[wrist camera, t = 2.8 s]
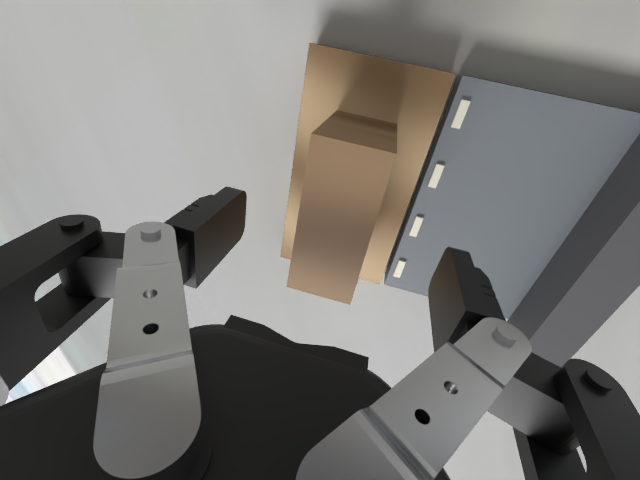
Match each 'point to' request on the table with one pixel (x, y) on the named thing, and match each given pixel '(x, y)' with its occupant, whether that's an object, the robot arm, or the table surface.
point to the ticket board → (531, 209)
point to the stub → (356, 165)
